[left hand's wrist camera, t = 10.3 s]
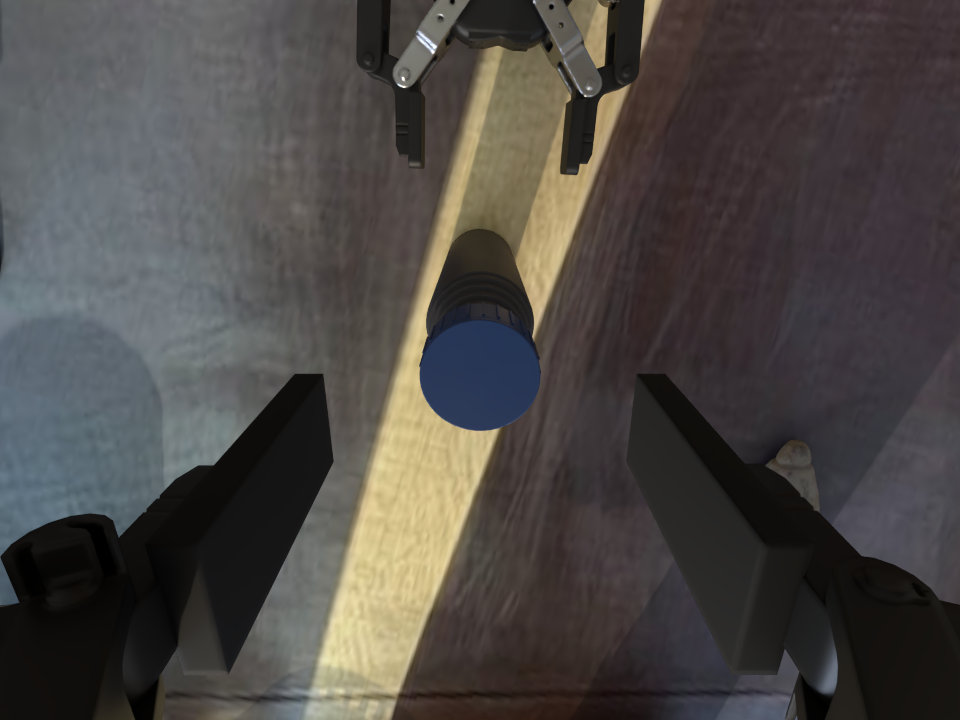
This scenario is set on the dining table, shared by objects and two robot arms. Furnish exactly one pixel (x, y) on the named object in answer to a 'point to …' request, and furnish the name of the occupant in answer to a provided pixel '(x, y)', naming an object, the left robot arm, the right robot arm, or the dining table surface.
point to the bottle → (479, 278)
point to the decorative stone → (797, 470)
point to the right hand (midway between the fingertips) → (492, 171)
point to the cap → (480, 367)
